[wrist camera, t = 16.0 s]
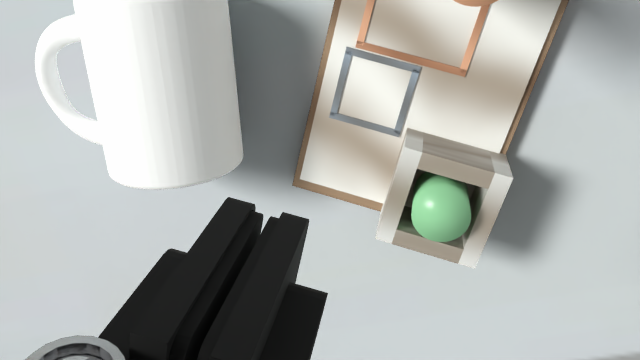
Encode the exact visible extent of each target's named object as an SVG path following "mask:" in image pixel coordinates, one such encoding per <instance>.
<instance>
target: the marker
mask: <svg viewBox="0 0 640 360" xmlns="http://www.w3.org/2000/svg"><path fill="white" fill-rule="evenodd" d="M454 1H455V2H457V3H459V4H462V5H465V6H471V7H479V6H485V5H489V4H492V3H494V2H496V1H498V0H454Z"/></svg>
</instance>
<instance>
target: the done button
mask: <svg viewBox="0 0 640 360" xmlns="http://www.w3.org/2000/svg"><path fill="white" fill-rule="evenodd" d="M411 218H412V223H413V225H414V227H415V229H416V230H417V232H418V233H419V234H421V235H422V236H423V237H425V238H427V239H429V240H431V241H435V242H448V241H452V240H455V239H457V238H458V237H460V236H461V235H463V234H464V233H465V232H466V230H467V229H468V227H469V225H470V222H471V210H470V202H469V194H468V187H467V184H466V183H465V182H462V181H458V180H455V179H451V178H448V177H444V176H441V175H437V174H434V173H430V172H427V171H426V172H424V173H423V174H422V175H421V176H420V177H419V178H418V179H417V181H416V183H415V185H414V191H413V202H412V214H411Z"/></svg>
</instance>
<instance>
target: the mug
mask: <svg viewBox="0 0 640 360" xmlns="http://www.w3.org/2000/svg"><path fill="white" fill-rule="evenodd" d="M73 4H74V9H75V14H74V15H70V16H66V17H63V18H61V19H59V20H57V21H55V22H54V23H52V24H51V25H49V26H48V27H47V28H46V30H45V31H44V32H43V33H42V35H41V37H40V39H39V41H38V44H37V48H36V54H35V69H36V75H37V79H38V83H39V86H40V88H41V90H42V93H43V95H44V97H45V98H46V100H47V102H48V103H49V105H50V107H51V108H52V109H53V111H54V112H55V113H56V115H57V116H58V117H59V118H60V119H61V121H62V122H63V123H64V124H65V125H66V126H67V127H68V128H70V129H71V130H72V131H73V132H74V133H76V134H77V135H79V136H80V137H82V138H84V139H86V140H88V141H90V142H93V143H95V144H99V145H103V149H104V153H105V158H106V163H107V168H108V172H109V175H110V177H111V178H112V179H113V180H115V181H116V182H118V183H119V184H122V185H125V186H128V187H132V188H138V189H153V190H158V189H174V188H182V187H188V186H193V185H198V184H202V183H205V182H208V181H212V180H214V179H217V178H219V177H222V176H224V175H226V174H228V173H229V172H231V171H232V170H234V169H235V168H236V167H237V166H238V165H239V164H240V163H241V161H242V159H243V145H242V135H241V125H240V115H239V105H238V95H237V85H236V76H235V66H234V56H233V46H232V36H231V26H230V16H229V6H228V0H73ZM76 42H81V43H82V48H83V53H84V57H85V62H86V67H87V72H88V77H89V81H90V86H91V91H92V96H93V101H94V105H95V110H96V115H97V120H95V119H92V118H89V117H87V116H84V115H83V114H81V113H79V112H78V111H77V110H76V109H75V108H74V107H73V106H72V104H71V103H70V101H69V99H68V97H67V95H66V93H65V91H64V88H63V85H62V82H61V79H60V76H59V72H58V67H57V54H58V52H59V51H60V50H61V49H62V48H64V47H65V46H67V45H70V44H73V43H76Z"/></svg>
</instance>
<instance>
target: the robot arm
mask: <svg viewBox="0 0 640 360" xmlns="http://www.w3.org/2000/svg"><path fill="white" fill-rule="evenodd" d="M262 222H263V214H261V213H257V212H255V204H252V203H248V202H244V201H241V200H237V199H234V198H230V197H228V198H227V199H226V200H225V201H224V203H223V204H222V206H221V207H220V208H219V210H218V211H217V213H216V214H215V215H214V217H213V218H212V219H211V221H210V222H209V224H208V225H207V226H206V228H205V229H204V231H203V232H202V233H201V235H200V236H199V238H198V239H197V240H196V242H195V243H194V244H193V246H192V247H191V249H190V250H189V251H188V253H186V252H182V251H179V250H175V249H169V250H167V251H166V252H165V253H164V254H163V256H162V257H161V258H160V259H159V261H158V262H157V263H156V264H155V266H154V267H153V268H152V270H151V271H150V272H149V273H148V275H147V276H146V277H145V278H144V280H143V281H142V282H141V284H140V285H139V286H138V287H137V289H136V290H135V291H134V292H133V294H132V295H131V296H130V298H129V299H128V300H127V301H126V303H125V304H124V305H123V306H122V308H121V309H120V310H119V311H118V313H117V314H116V315H115V317H114V318H113V319H112V320H111V322H110V323H109V324H108V325H107V327H106V328H105V329H104V331H103V332H102V333H101V334H100V336H99V337H98V338H97V337H94V336H78V335H77V336H71V337H65V338H61V339H58V340H55V341H53V342H50V343H48V344H45V345H44V346H42V347H41V348H39V349H38V350H36V351H35V352H33V353H32V354H31V355H30V356H29V357H27V358H26V359H25V360H310V358H311V354H312V351H313V347H314V343H315V340H316V336H317V332H318V329H319V325H320V321H321V317H322V314H323V310H324V306H325V302H326V298H327V295H328V293H325V292H322V291H319V290H315V289H312V288H308V287H305V286H301V285H298V284H295V282H296V278H297V273H298V269H299V265H300V260H301V256H302V251H303V247H304V243H305V238H306V234H307V229H308V225H309V219H306V218H302V217H299V216H295V215H291V214H288V213H284V212H283V213H282V214H281V216H280V218H275V217H272V216H271V217H270V218H269V220H268V221H267V223H266V225H265V227H264V229H263V231H262V233H261V228H262ZM260 233H261V234H260Z"/></svg>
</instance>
